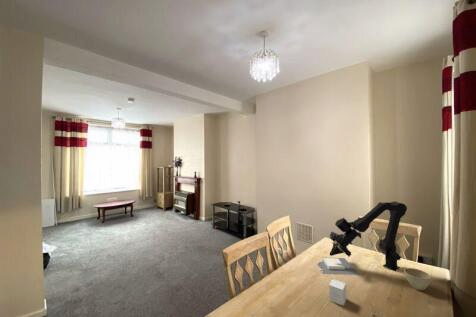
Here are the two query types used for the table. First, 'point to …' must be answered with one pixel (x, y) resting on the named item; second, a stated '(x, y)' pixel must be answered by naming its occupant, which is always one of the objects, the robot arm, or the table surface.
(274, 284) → the table surface
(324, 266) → the mat
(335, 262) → the tile
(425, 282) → the cream bowl
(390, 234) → the robot arm
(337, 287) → the product box
